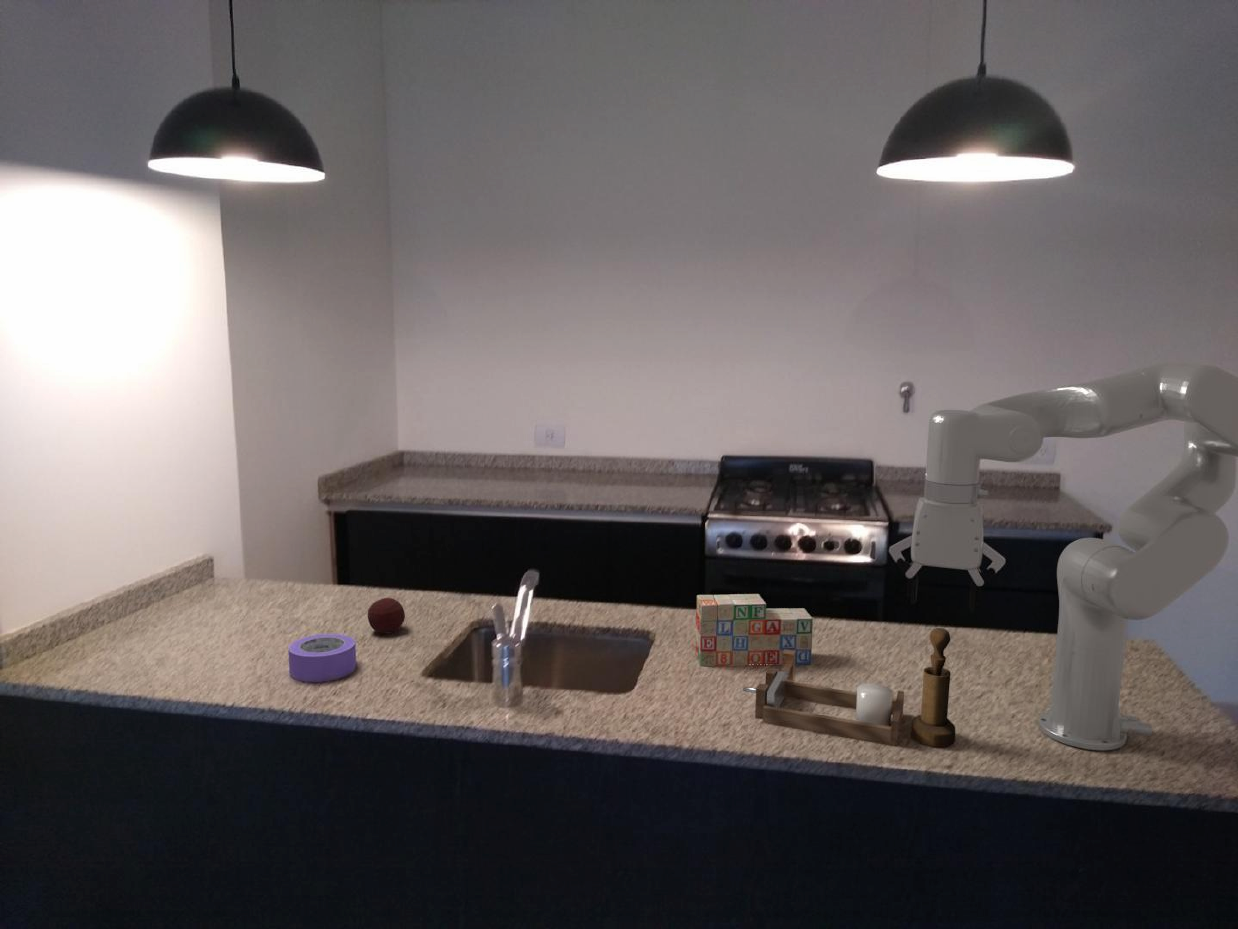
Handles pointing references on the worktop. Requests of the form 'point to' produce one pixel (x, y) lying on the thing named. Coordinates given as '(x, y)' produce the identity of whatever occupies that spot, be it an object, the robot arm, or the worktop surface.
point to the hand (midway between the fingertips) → (942, 604)
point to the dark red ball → (386, 615)
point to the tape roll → (322, 657)
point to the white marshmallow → (874, 704)
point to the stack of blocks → (749, 631)
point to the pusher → (780, 680)
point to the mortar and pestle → (935, 698)
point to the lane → (821, 721)
